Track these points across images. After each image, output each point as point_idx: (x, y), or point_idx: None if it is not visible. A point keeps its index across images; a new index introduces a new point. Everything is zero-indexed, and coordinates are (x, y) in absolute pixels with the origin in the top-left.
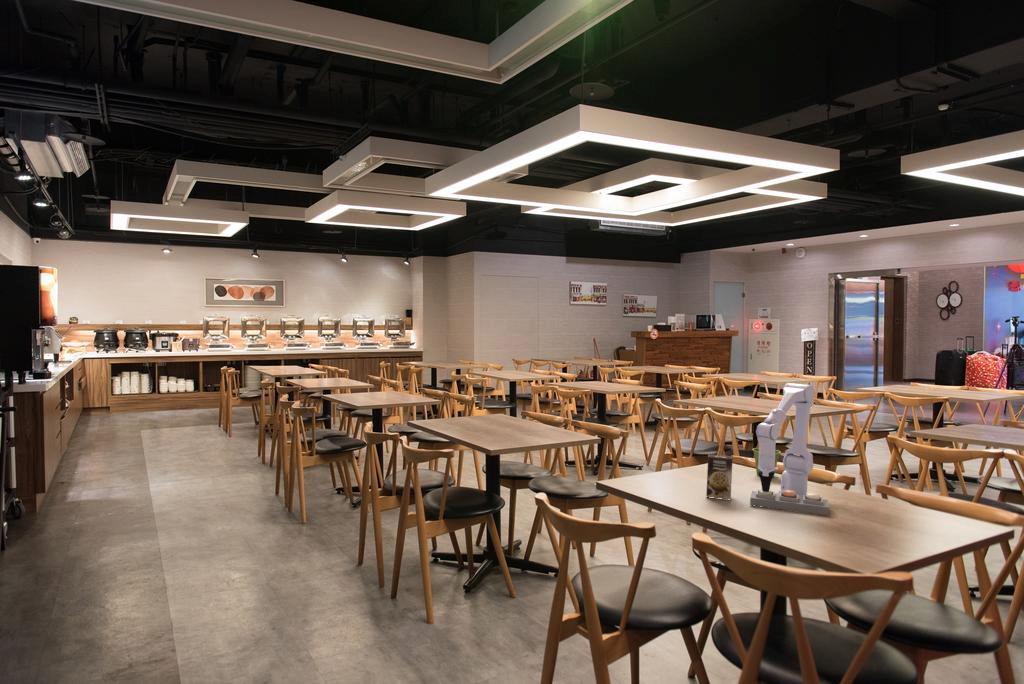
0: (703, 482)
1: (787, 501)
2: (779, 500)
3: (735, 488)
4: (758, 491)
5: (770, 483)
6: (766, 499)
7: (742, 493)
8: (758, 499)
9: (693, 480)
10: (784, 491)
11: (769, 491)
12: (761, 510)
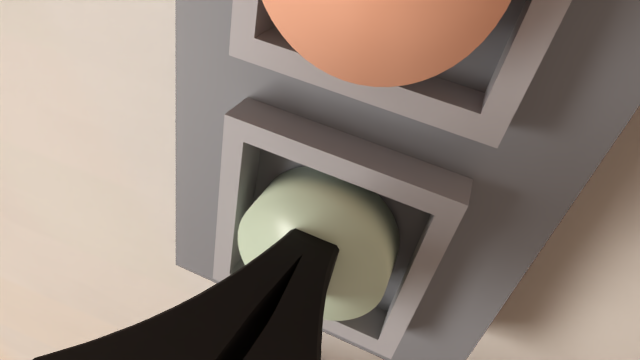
0: (15, 331)
1: (610, 16)
2: (542, 134)
3: (20, 227)
4: None
5: (320, 350)
6: (499, 277)
7: (111, 231)
8: (480, 336)
9: (12, 354)
10: (396, 62)
11: (308, 224)
12: (622, 298)
